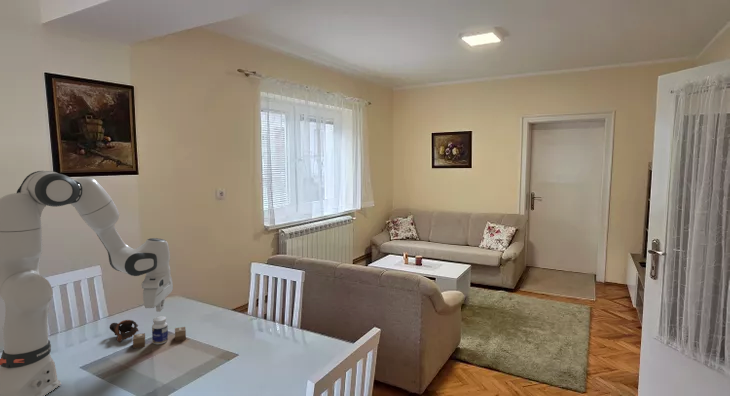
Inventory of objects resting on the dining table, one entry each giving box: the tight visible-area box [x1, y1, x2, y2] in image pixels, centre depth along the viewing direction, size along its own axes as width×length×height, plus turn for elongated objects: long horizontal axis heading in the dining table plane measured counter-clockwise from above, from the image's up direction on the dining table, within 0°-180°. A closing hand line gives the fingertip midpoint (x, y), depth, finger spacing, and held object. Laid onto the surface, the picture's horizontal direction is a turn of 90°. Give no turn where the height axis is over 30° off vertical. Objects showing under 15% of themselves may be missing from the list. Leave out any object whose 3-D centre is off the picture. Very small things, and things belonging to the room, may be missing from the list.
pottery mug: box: [108, 319, 140, 343], centre depth 167 cm, size 12×10×8 cm
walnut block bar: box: [174, 326, 187, 342], centre depth 168 cm, size 4×4×4 cm
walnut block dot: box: [132, 332, 146, 349], centre depth 161 cm, size 4×4×4 cm
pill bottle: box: [151, 315, 169, 345], centre depth 164 cm, size 6×6×10 cm
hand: (160, 310), depth 164 cm, fingers closed
